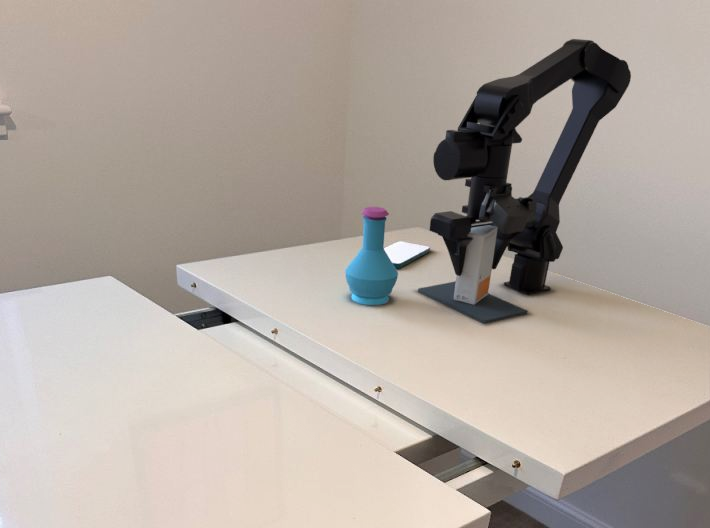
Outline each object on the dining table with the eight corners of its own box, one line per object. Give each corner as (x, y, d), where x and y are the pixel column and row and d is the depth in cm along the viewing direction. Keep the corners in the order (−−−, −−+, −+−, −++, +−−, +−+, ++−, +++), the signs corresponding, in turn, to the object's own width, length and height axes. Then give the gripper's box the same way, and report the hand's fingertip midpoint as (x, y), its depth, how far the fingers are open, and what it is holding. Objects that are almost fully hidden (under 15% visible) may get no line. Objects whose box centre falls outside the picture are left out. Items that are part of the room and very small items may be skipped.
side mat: (458, 283, 136) (459, 280, 136) (527, 313, 124) (527, 310, 124) (417, 291, 131) (418, 288, 131) (484, 324, 120) (485, 320, 119)
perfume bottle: (376, 311, 122) (381, 219, 113) (333, 298, 126) (336, 208, 118) (406, 298, 128) (413, 209, 119) (364, 286, 133) (369, 200, 124)
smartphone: (398, 245, 156) (363, 261, 144) (398, 240, 155) (364, 257, 144) (431, 251, 153) (399, 269, 141) (432, 247, 152) (399, 264, 141)
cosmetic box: (475, 305, 125) (484, 235, 117) (453, 300, 127) (460, 230, 119) (489, 294, 129) (498, 226, 121) (467, 289, 131) (475, 221, 123)
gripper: (480, 189, 106) (466, 294, 115) (566, 180, 115) (547, 277, 124) (432, 175, 113) (422, 274, 122) (517, 167, 122) (502, 260, 131)
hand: (475, 271), depth 125 cm, fingers closed on cosmetic box, 8 cm apart
